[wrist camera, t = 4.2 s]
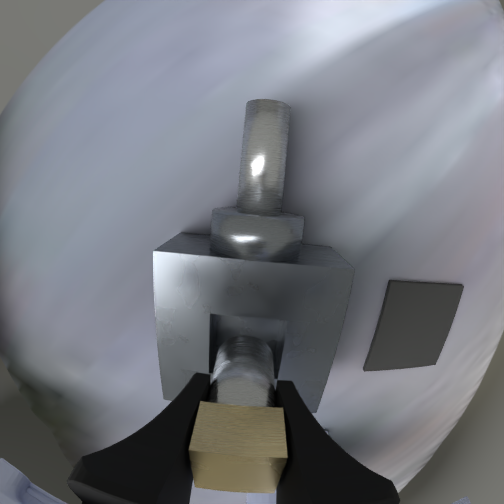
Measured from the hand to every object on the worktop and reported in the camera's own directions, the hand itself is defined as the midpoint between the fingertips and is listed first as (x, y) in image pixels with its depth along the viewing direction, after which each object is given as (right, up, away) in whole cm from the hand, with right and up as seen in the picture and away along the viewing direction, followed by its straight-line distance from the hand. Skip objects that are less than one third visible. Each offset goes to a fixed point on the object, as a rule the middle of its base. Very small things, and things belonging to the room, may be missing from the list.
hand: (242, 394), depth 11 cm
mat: (+14, 0, +9) cm, 16 cm away
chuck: (+1, +6, +7) cm, 9 cm away
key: (0, +1, +2) cm, 3 cm away
